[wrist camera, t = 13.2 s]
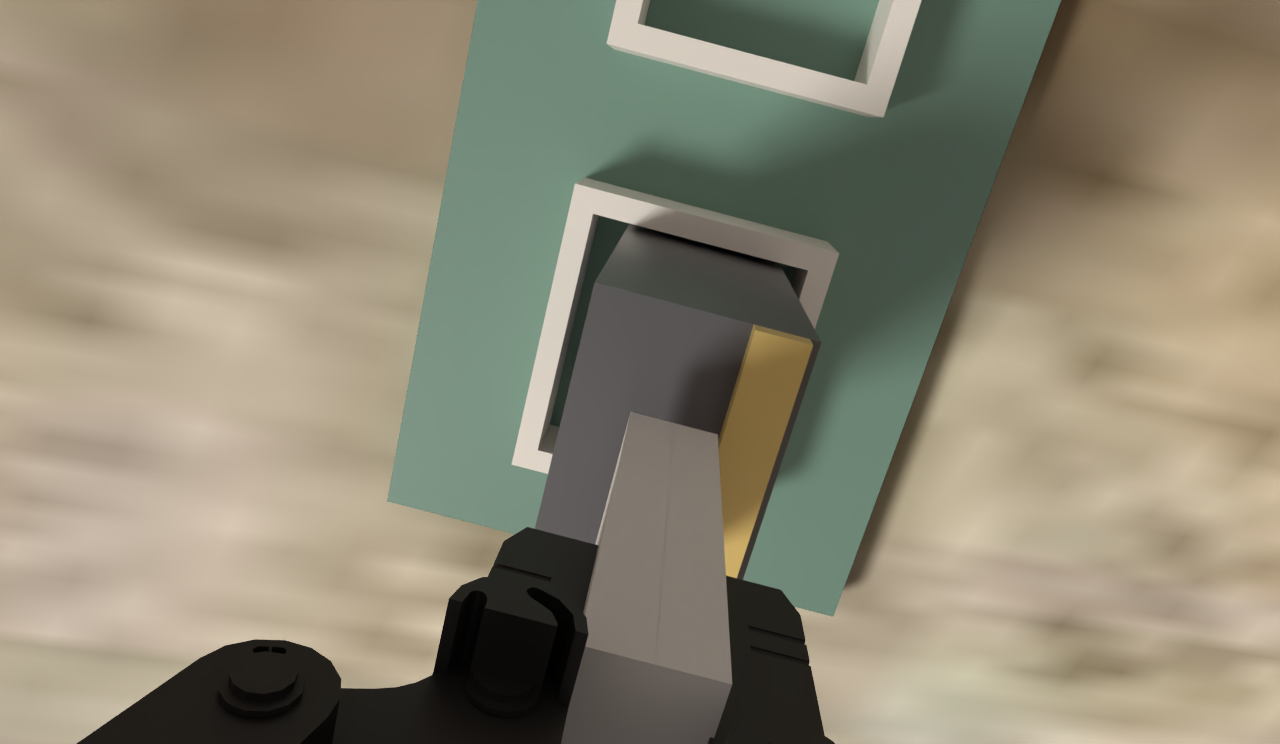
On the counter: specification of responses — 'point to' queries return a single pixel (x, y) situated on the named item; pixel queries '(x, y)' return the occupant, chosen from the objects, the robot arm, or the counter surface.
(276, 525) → the counter surface
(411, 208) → the counter surface
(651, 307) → the plug
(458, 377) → the board
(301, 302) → the counter surface
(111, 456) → the counter surface
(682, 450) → the robot arm
